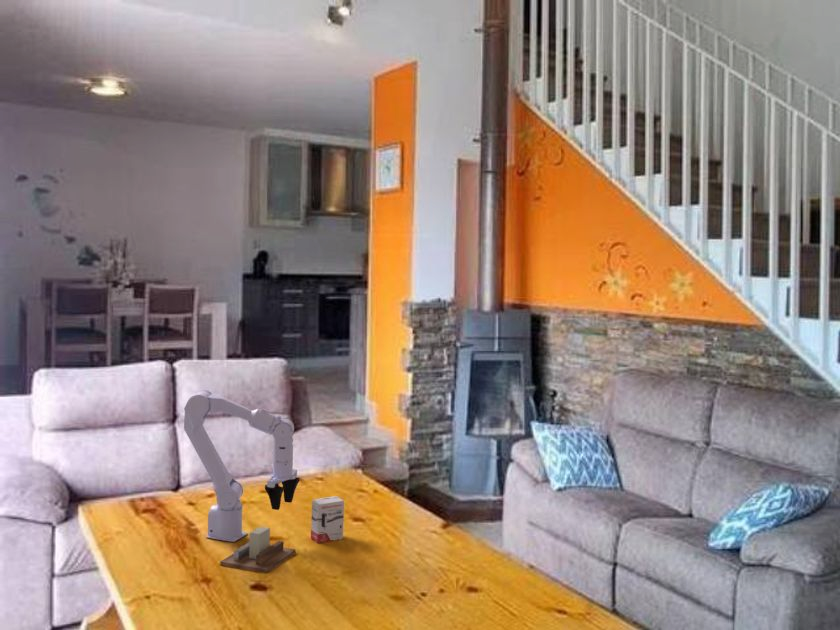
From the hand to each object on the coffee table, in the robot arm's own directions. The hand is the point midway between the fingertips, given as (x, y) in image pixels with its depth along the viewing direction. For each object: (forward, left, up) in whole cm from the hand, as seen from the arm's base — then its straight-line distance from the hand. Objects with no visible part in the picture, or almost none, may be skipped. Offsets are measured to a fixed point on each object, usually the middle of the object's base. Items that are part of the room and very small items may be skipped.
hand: (282, 505), depth 231 cm
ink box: (+13, +4, -10) cm, 17 cm away
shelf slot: (+3, -18, -9) cm, 21 cm away
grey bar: (0, -18, -9) cm, 20 cm away
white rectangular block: (+3, -18, -8) cm, 20 cm away
